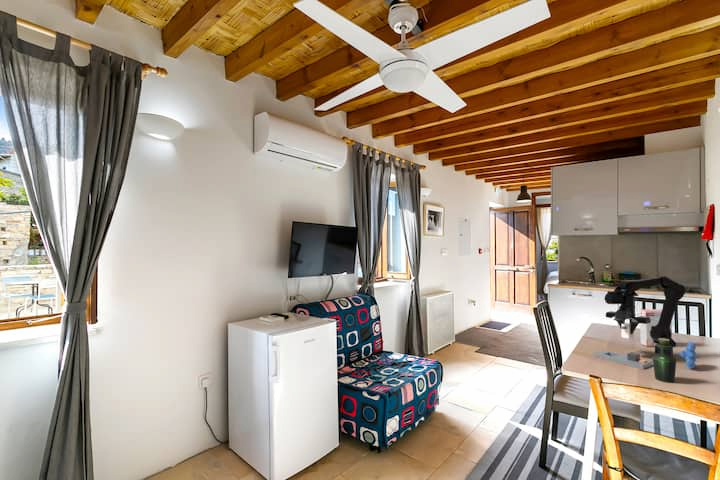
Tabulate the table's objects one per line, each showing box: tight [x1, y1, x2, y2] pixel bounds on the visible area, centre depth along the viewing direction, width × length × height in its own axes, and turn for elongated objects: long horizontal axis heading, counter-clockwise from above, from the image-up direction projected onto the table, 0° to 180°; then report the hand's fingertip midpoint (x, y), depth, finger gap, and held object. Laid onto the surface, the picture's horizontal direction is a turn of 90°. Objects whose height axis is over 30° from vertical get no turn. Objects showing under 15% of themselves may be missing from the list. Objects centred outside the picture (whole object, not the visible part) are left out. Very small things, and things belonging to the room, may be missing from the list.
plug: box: [620, 322, 634, 340], centre depth 189 cm, size 4×6×7 cm, turn 119°
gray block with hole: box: [593, 349, 654, 370], centre depth 184 cm, size 22×10×5 cm, turn 29°
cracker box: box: [639, 308, 673, 348], centre depth 209 cm, size 14×6×21 cm, turn 84°
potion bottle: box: [652, 338, 678, 383], centre depth 159 cm, size 8×8×18 cm
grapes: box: [678, 342, 699, 370], centre depth 174 cm, size 12×7×12 cm, turn 135°
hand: (627, 333), depth 190 cm, fingers closed on plug, 3 cm apart
